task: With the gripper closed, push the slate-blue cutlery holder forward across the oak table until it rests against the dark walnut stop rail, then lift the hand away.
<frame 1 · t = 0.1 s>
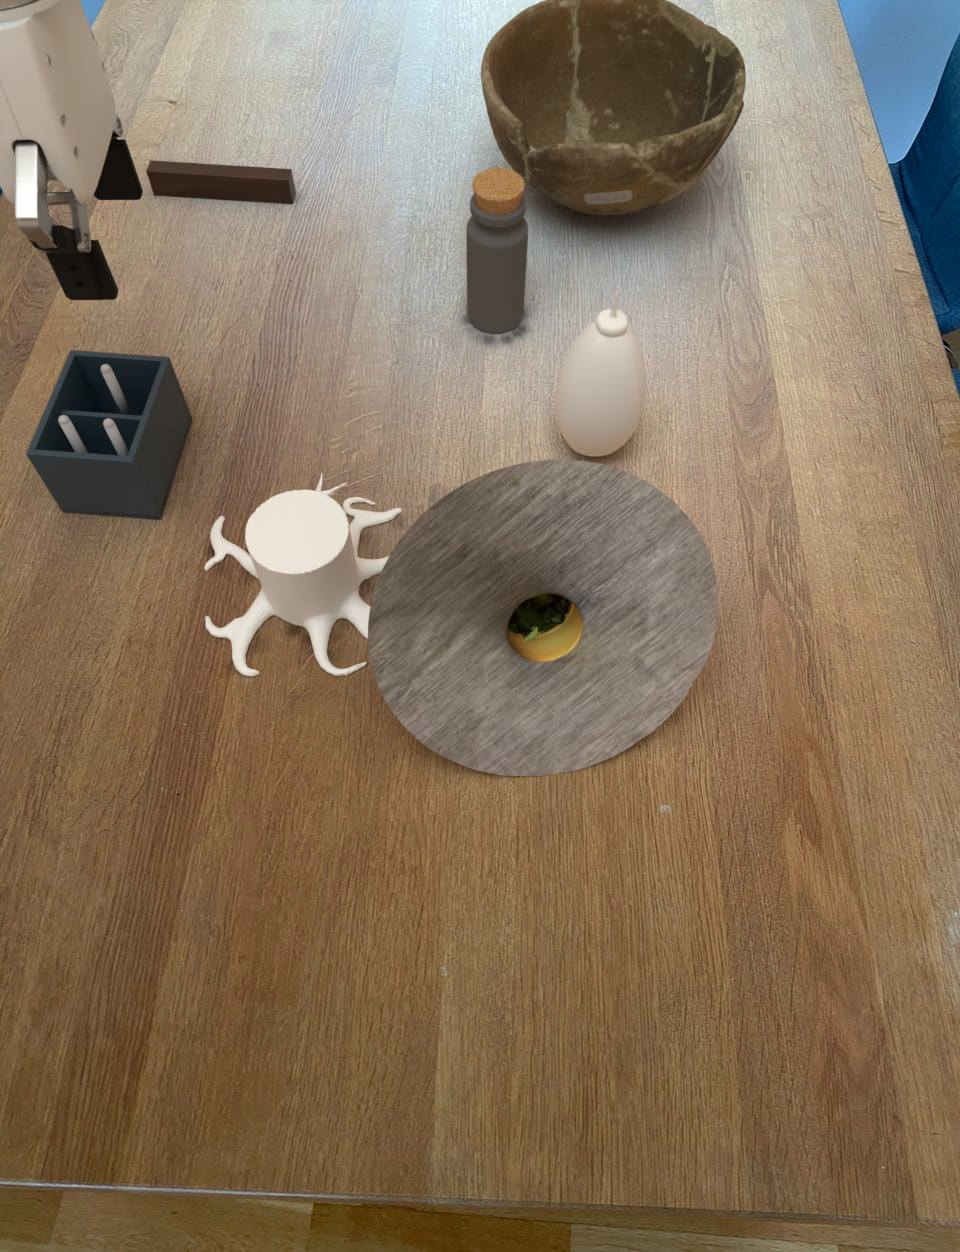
hand: (107, 245, 61), 27 cm above the table, tool pointing down, fingers open, 9 cm apart
bottle: (495, 315, 98), on the table
sauce bottle: (591, 446, 89), on the table
cutlery holder: (129, 464, 87), on the table
tree stump: (308, 584, 81), on the table
bowl: (599, 194, 107), on the table
grey flared vase: (535, 666, 77), on the table
stop rail: (225, 194, 107), on the table
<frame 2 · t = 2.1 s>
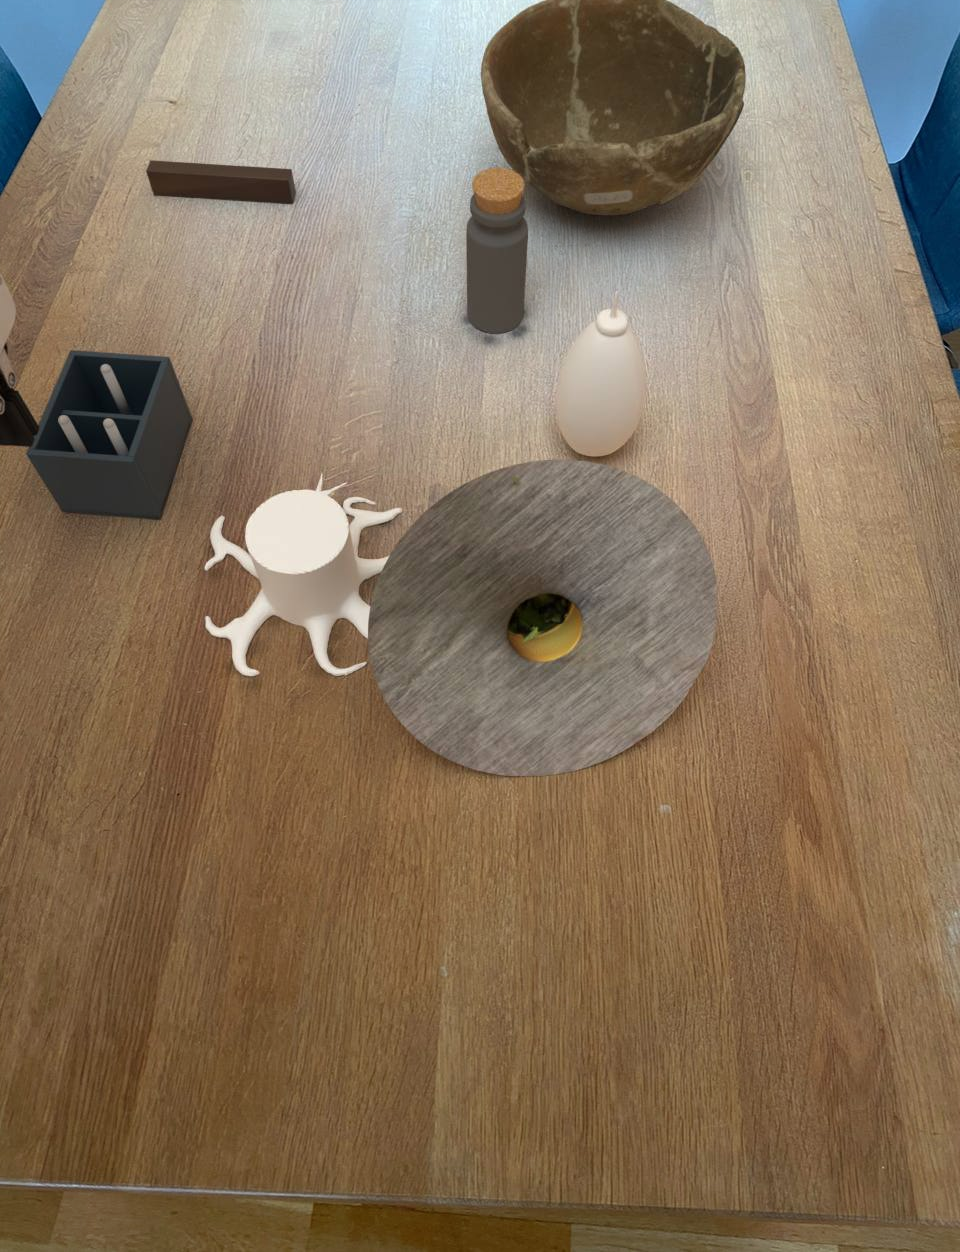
hand: (15, 436, 67), 17 cm above the table, tool pointing down, fingers closed
nothing on the table moved.
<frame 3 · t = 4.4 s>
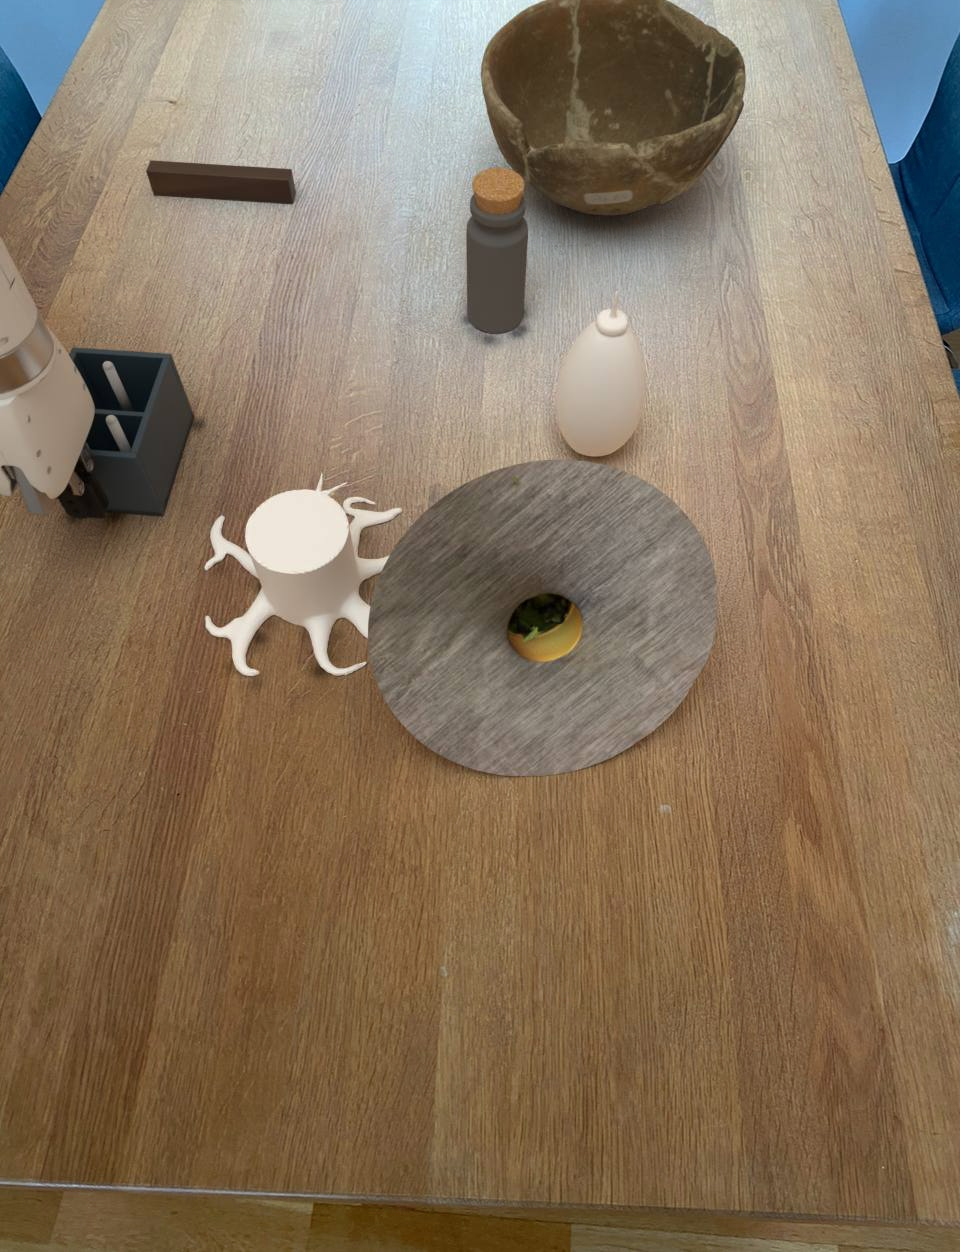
hand: (89, 509, 80), 4 cm above the table, tool pointing down, fingers closed
cutlery holder: (131, 461, 87), on the table, touching gripper
everything else where it was.
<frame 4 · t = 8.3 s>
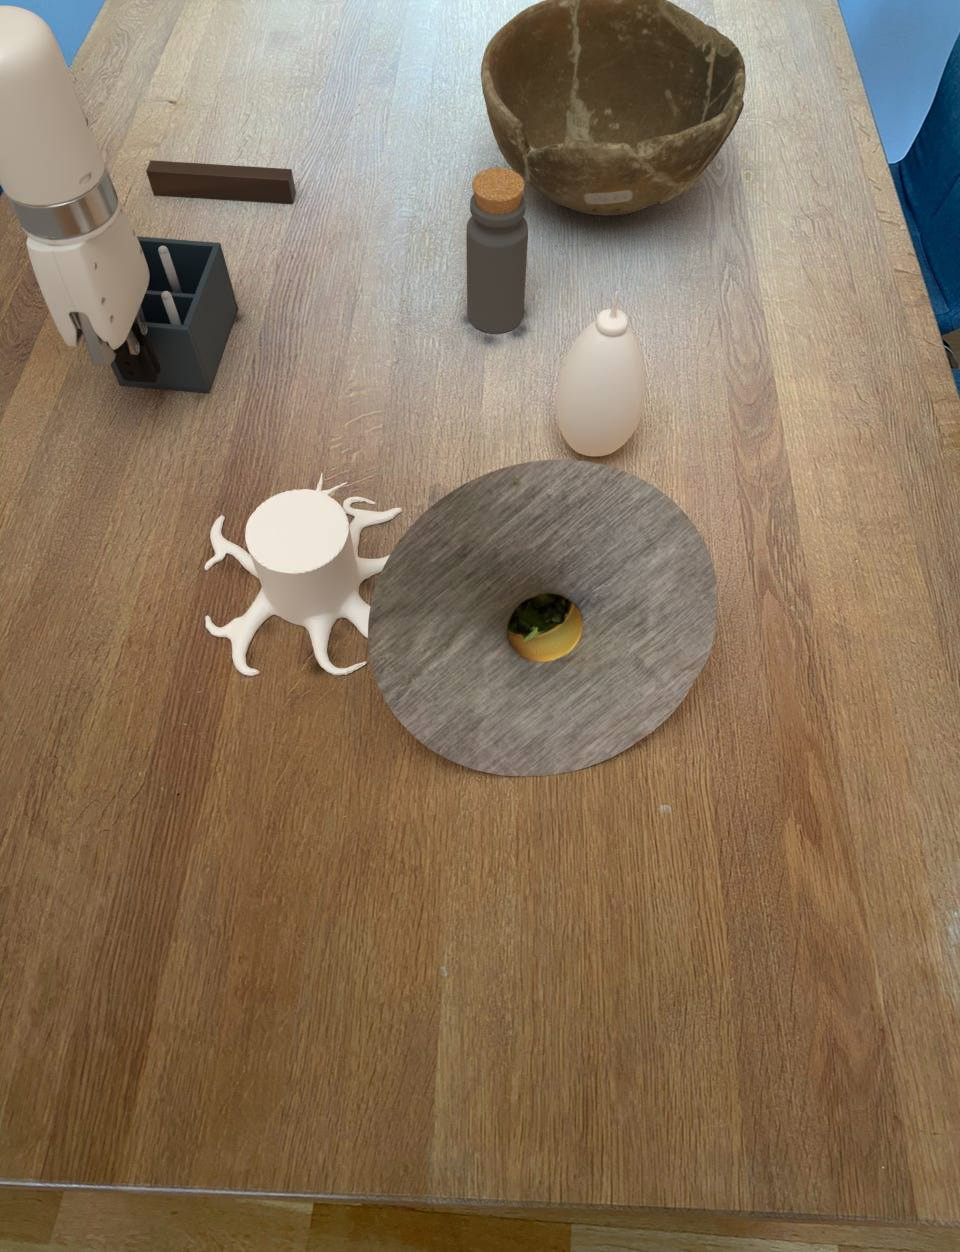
hand: (142, 375, 87), 4 cm above the table, tool pointing down, fingers closed
cutlery holder: (180, 345, 95), on the table, touching gripper
everything else where it was.
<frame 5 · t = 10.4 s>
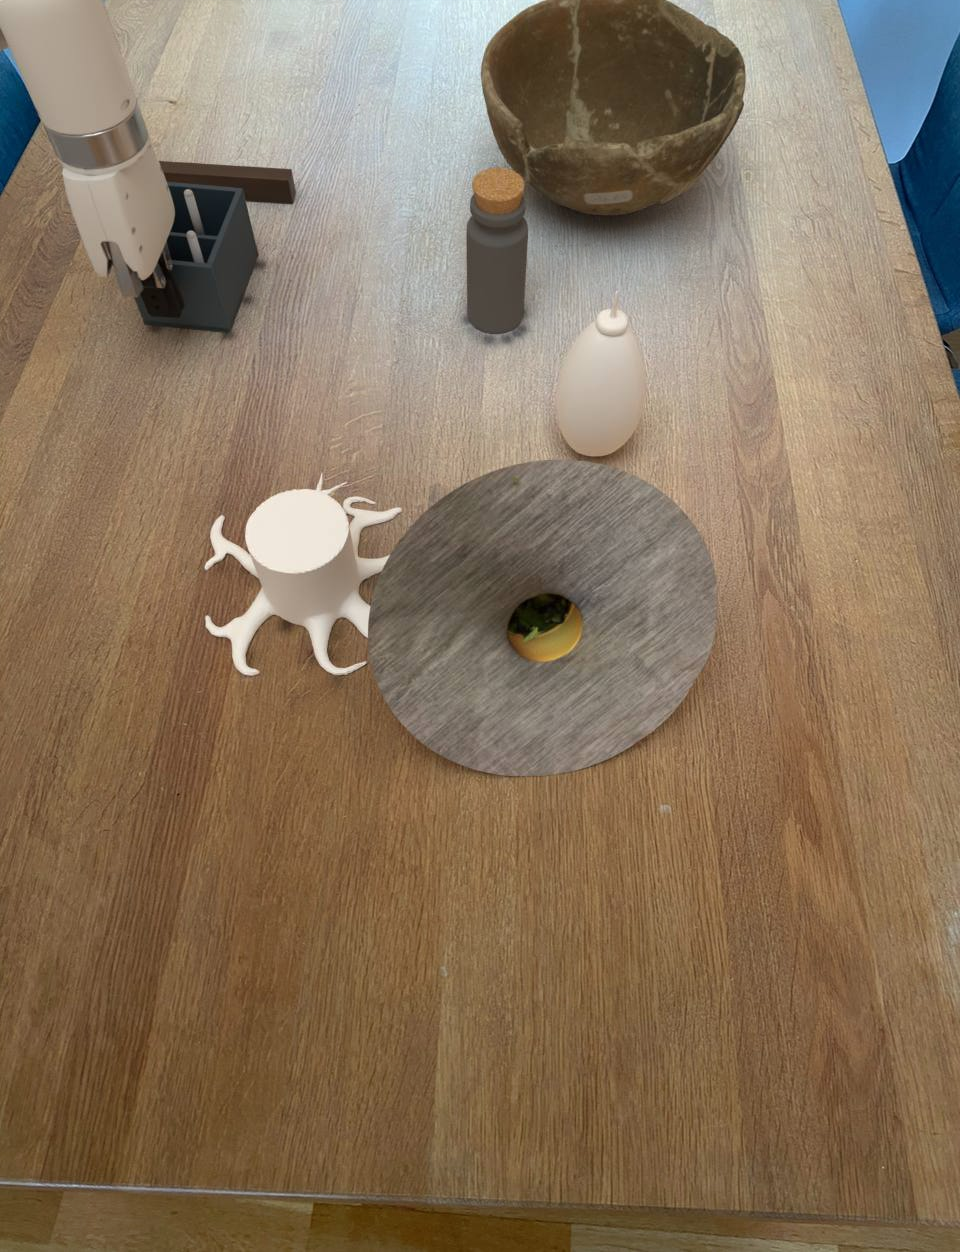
hand: (167, 311, 91), 4 cm above the table, tool pointing down, fingers closed
cutlery holder: (203, 288, 99), on the table, touching gripper
everything else where it was.
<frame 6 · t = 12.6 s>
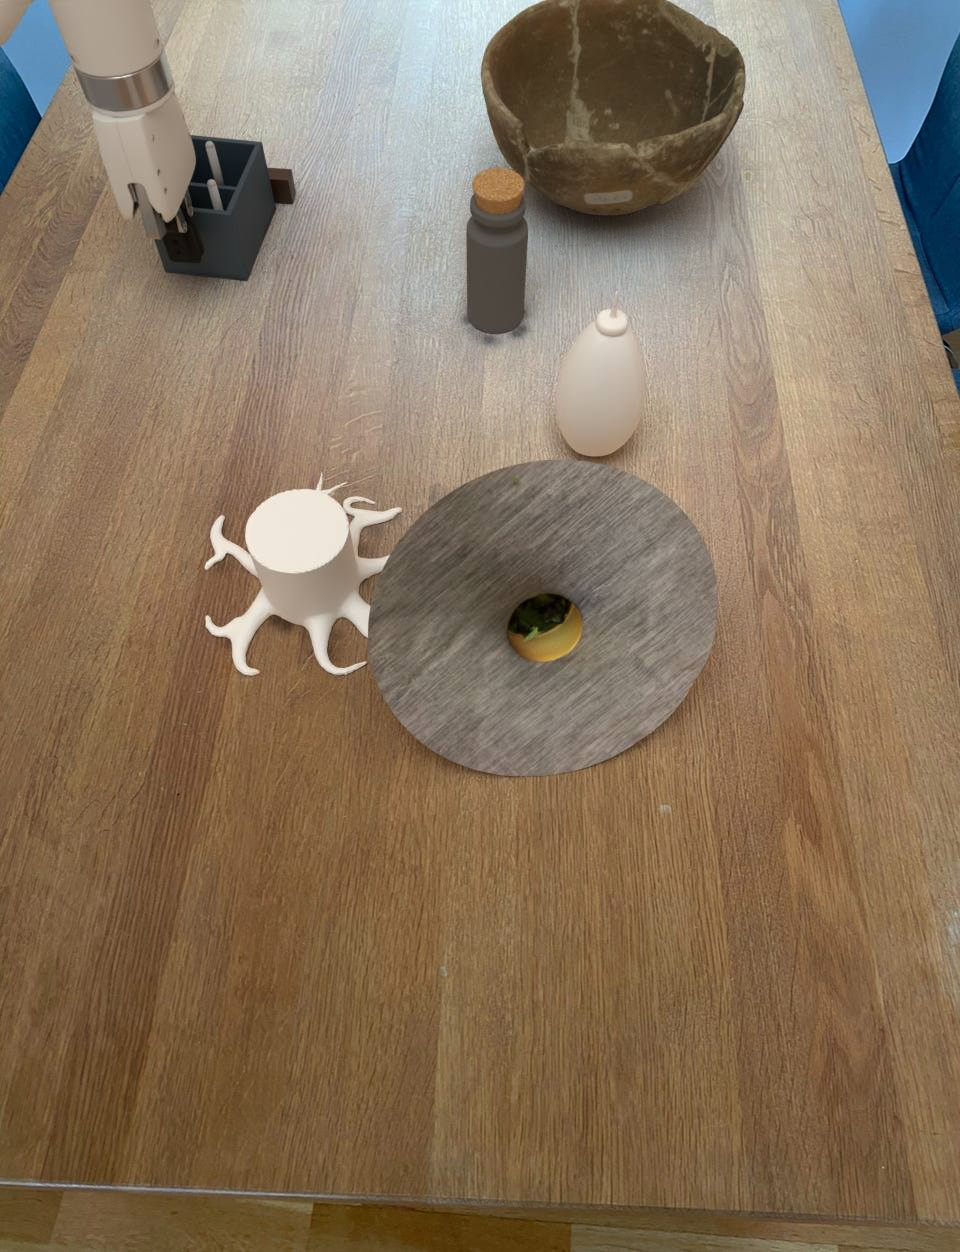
hand: (187, 257, 95), 4 cm above the table, tool pointing down, fingers closed
cutlery holder: (222, 239, 103), on the table, touching gripper
everything else where it was.
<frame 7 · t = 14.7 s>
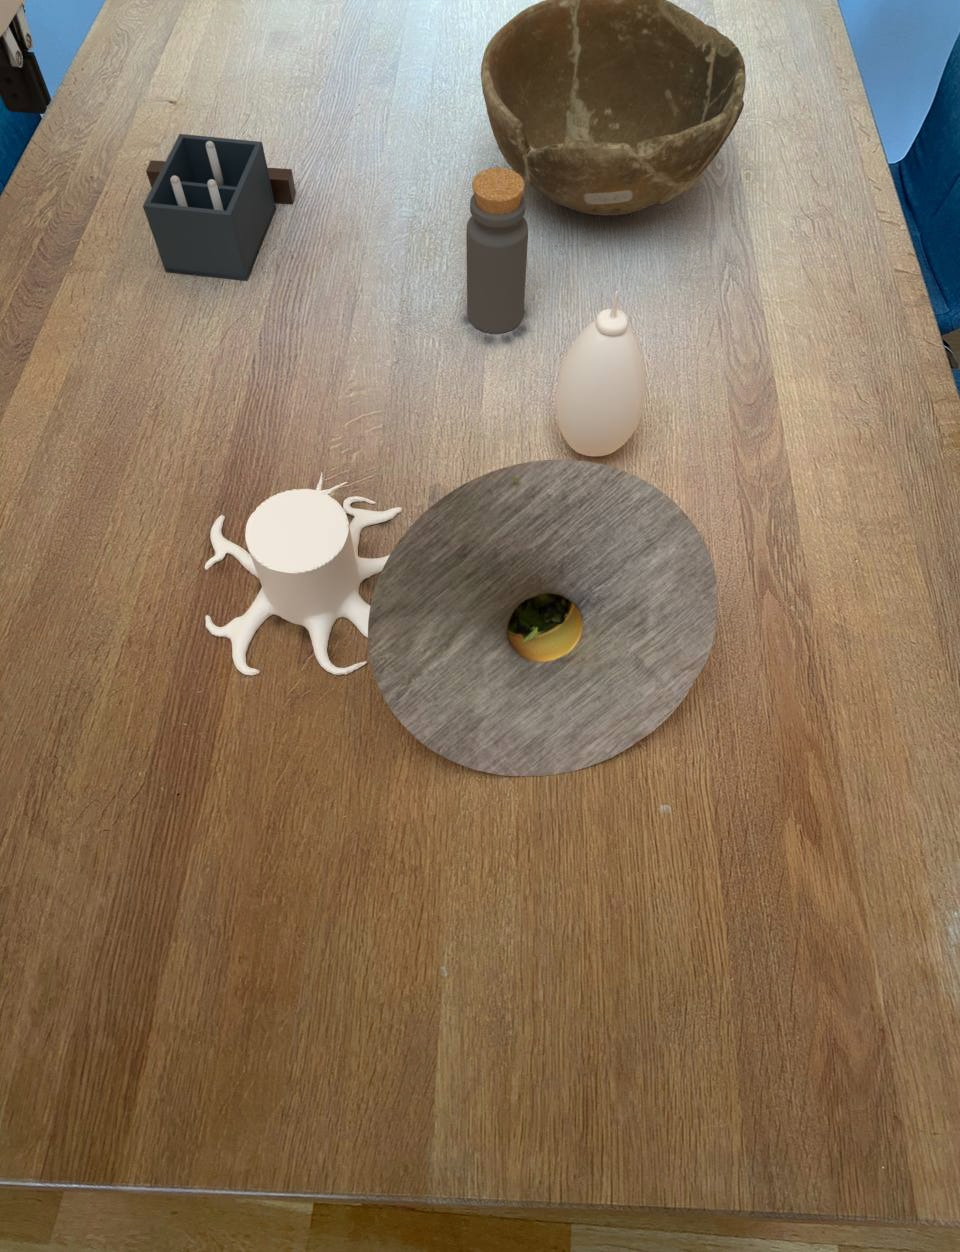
hand: (29, 106, 75), 24 cm above the table, tool pointing down, fingers closed
cutlery holder: (222, 239, 103), on the table
everything else where it was.
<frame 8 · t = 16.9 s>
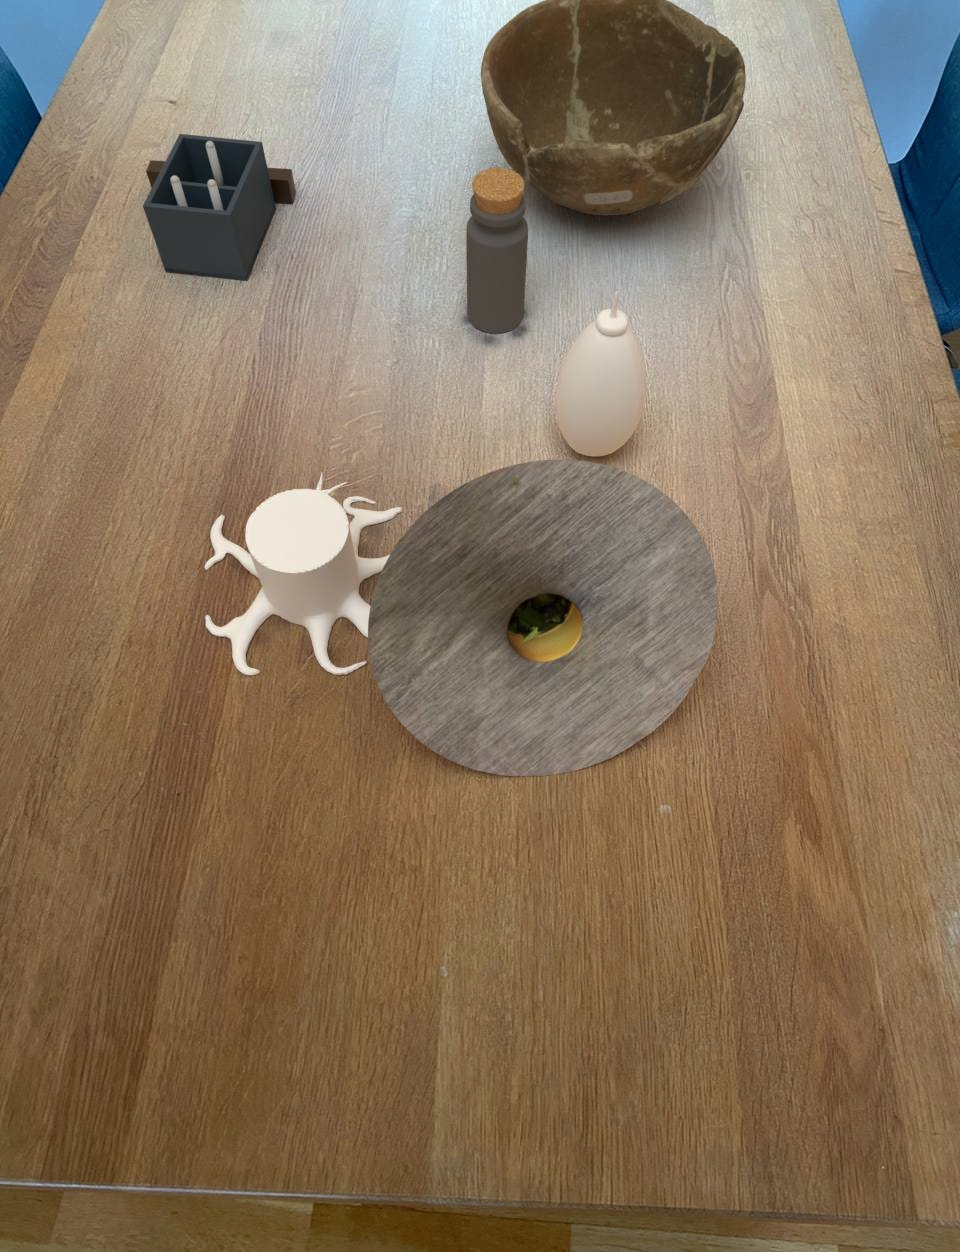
nothing on the table moved.
at the end: cutlery holder inside the target area on the table beside the stop rail (1.3 cm from its centre), on the table; cutlery holder tilted 0°; cutlery holder moved 31.8 cm from its start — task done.
